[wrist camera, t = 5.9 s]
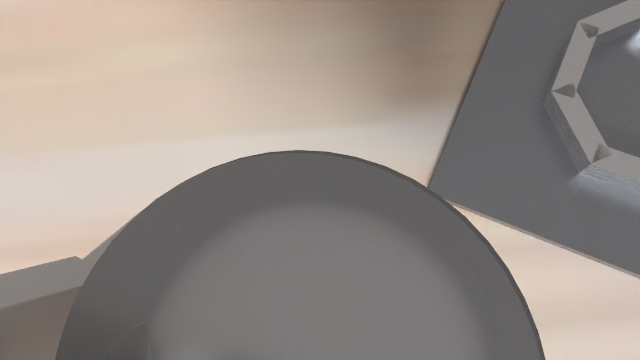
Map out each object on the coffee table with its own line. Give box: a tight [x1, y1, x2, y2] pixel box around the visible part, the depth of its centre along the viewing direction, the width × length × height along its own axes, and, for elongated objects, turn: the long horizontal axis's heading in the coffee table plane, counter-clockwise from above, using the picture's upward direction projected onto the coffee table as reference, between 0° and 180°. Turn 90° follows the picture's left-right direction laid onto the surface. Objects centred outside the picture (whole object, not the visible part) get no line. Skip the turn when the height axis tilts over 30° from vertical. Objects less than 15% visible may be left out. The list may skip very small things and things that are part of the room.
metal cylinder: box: [55, 150, 545, 360], centre depth 10 cm, size 5×5×9 cm
